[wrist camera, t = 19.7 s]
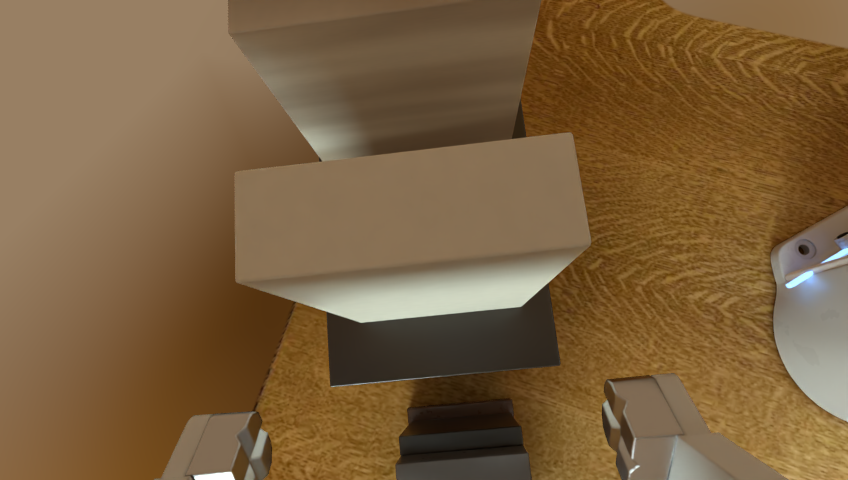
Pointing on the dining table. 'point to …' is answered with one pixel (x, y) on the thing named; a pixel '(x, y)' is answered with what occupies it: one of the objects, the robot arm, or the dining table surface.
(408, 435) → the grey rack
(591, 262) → the dining table surface
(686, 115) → the dining table surface
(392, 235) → the cream book
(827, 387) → the robot arm
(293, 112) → the dark brown tall box
